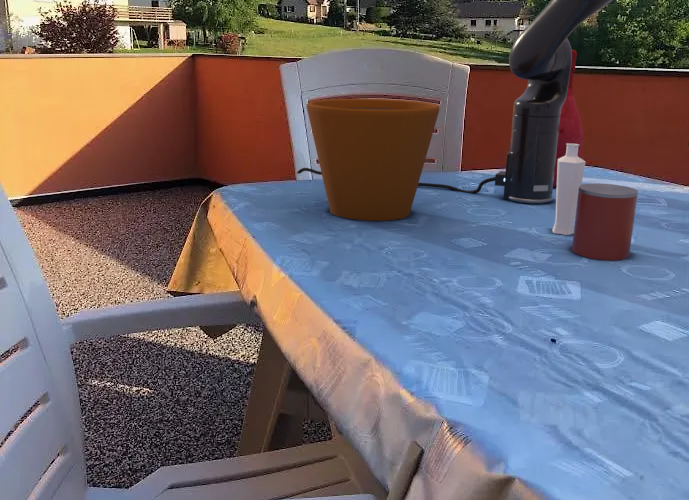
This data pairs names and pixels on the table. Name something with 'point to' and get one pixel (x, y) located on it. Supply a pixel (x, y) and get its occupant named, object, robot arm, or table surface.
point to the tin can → (604, 221)
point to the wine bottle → (569, 122)
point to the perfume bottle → (568, 189)
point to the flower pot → (371, 153)
